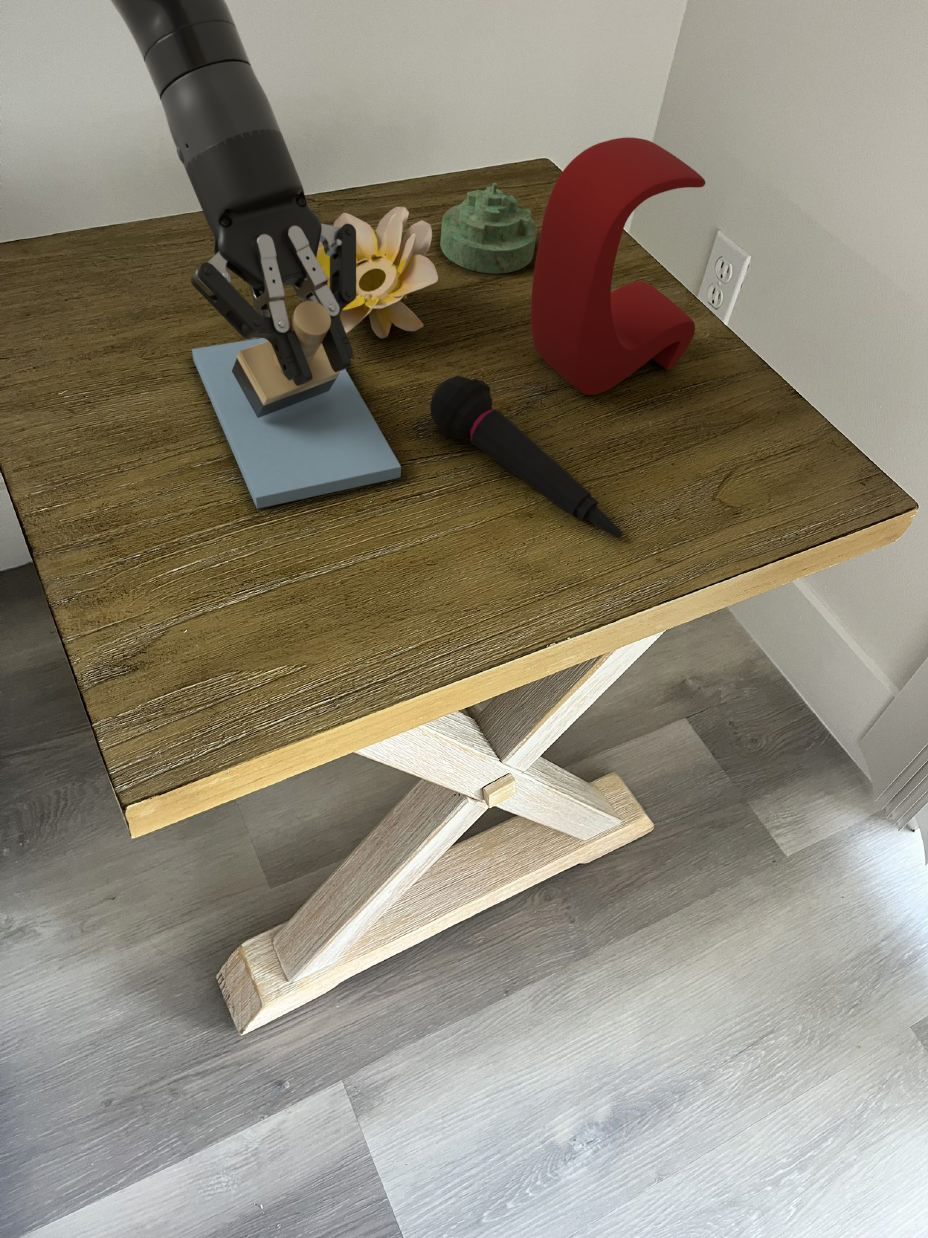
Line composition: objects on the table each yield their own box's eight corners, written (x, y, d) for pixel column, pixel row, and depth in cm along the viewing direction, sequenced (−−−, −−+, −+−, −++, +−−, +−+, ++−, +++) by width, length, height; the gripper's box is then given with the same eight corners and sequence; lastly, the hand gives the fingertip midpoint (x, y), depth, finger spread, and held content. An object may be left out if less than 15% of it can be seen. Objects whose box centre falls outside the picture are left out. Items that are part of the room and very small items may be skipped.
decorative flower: (262, 259, 95) (283, 160, 89) (365, 265, 101) (392, 174, 95) (317, 356, 88) (346, 257, 81) (425, 357, 94) (460, 264, 87)
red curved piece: (562, 408, 88) (608, 191, 73) (516, 363, 92) (551, 148, 76) (685, 366, 94) (752, 158, 79) (637, 325, 98) (693, 119, 83)
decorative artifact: (517, 222, 109) (430, 225, 106) (526, 158, 103) (435, 161, 101) (545, 270, 103) (453, 276, 100) (557, 206, 97) (460, 210, 95)
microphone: (618, 553, 81) (446, 412, 87) (653, 499, 78) (471, 356, 83) (586, 572, 77) (407, 423, 83) (621, 516, 74) (432, 365, 79)
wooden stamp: (257, 418, 81) (286, 358, 71) (231, 370, 81) (256, 304, 71) (329, 391, 84) (366, 330, 74) (304, 345, 84) (337, 278, 74)
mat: (256, 509, 76) (255, 497, 75) (193, 360, 87) (191, 348, 86) (400, 477, 80) (401, 466, 79) (322, 338, 91) (322, 327, 90)
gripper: (154, 146, 65) (259, 395, 69) (333, 108, 72) (420, 337, 75) (131, 188, 72) (228, 413, 75) (297, 149, 78) (379, 359, 82)
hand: (324, 374), depth 75 cm, fingers closed on wooden stamp, 3 cm apart
